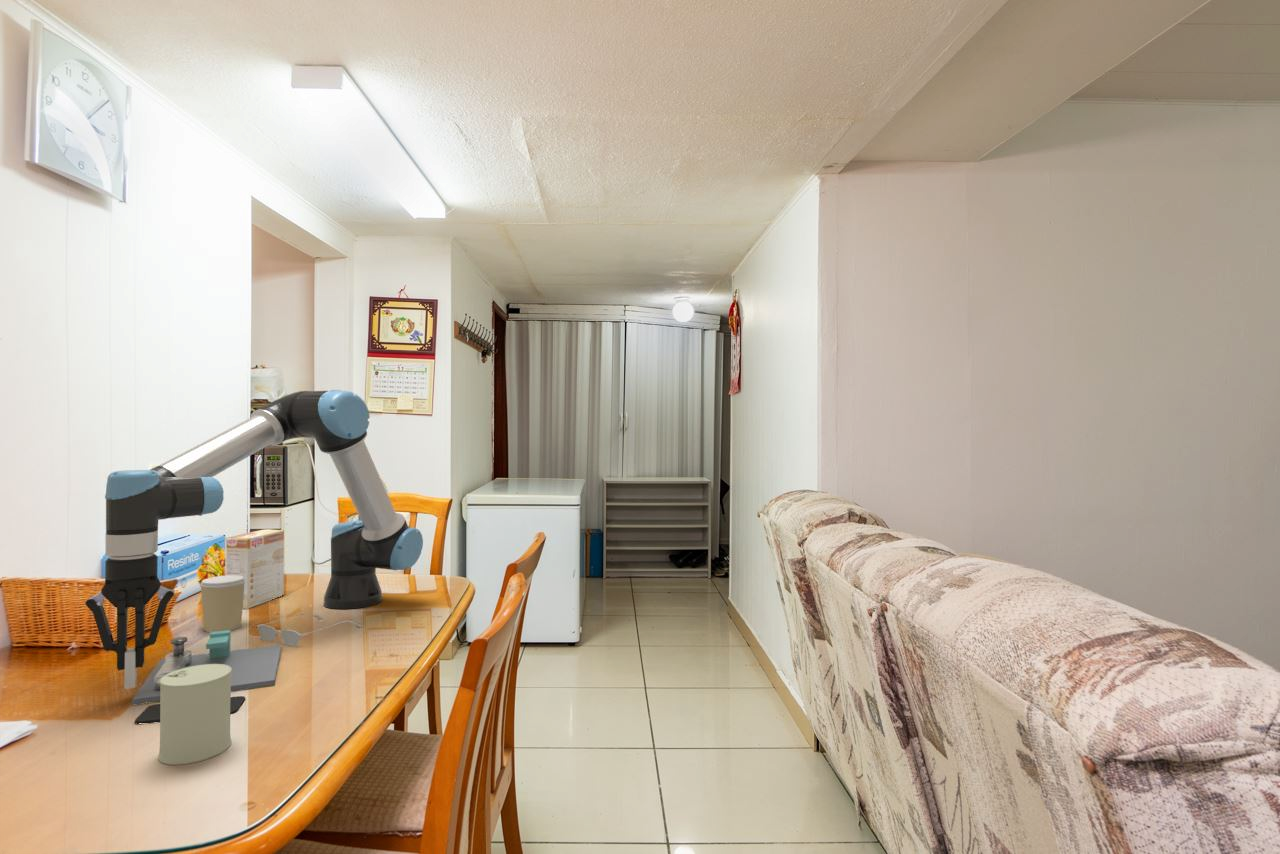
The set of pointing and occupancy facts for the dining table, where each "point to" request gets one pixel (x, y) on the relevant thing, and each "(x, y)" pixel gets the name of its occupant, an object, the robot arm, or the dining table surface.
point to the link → (174, 659)
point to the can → (194, 713)
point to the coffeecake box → (257, 564)
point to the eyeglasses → (288, 632)
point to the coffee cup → (222, 602)
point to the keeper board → (246, 664)
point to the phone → (153, 711)
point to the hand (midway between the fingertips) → (130, 686)
